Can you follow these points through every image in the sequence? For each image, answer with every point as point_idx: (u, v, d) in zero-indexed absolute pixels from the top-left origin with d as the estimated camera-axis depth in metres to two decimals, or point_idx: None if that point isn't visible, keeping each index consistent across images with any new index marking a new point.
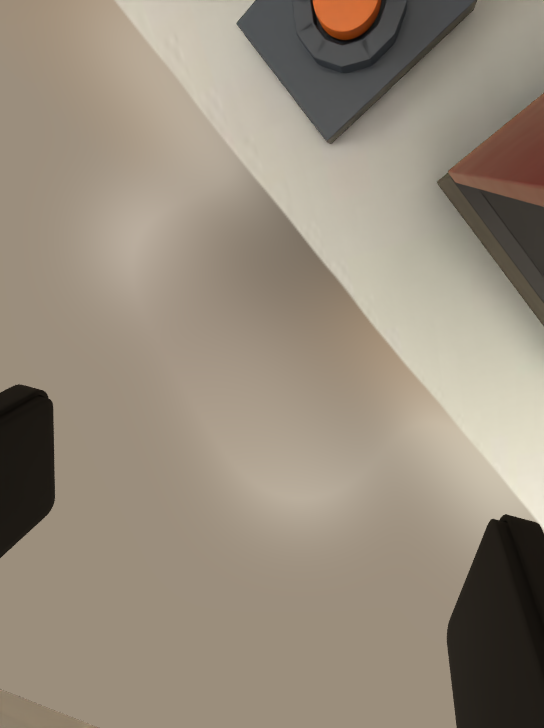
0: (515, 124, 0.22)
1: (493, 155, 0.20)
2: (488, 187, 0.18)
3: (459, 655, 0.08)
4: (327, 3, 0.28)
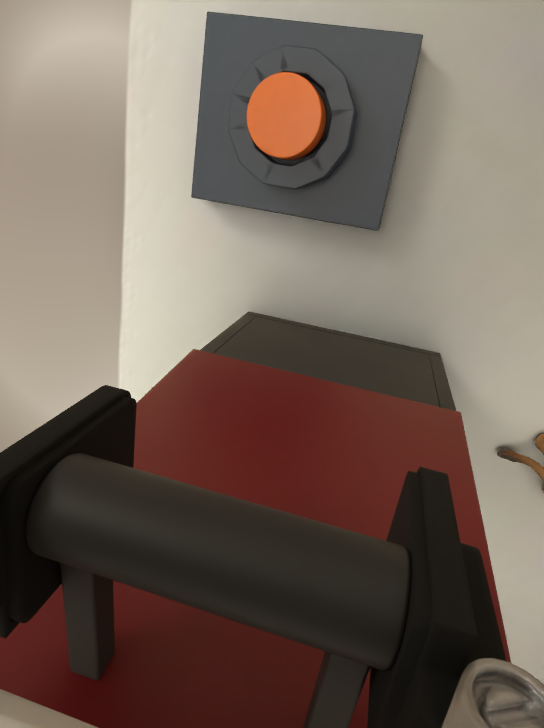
0: (233, 385, 0.22)
1: (159, 410, 0.19)
2: None
3: None
4: (263, 106, 0.25)
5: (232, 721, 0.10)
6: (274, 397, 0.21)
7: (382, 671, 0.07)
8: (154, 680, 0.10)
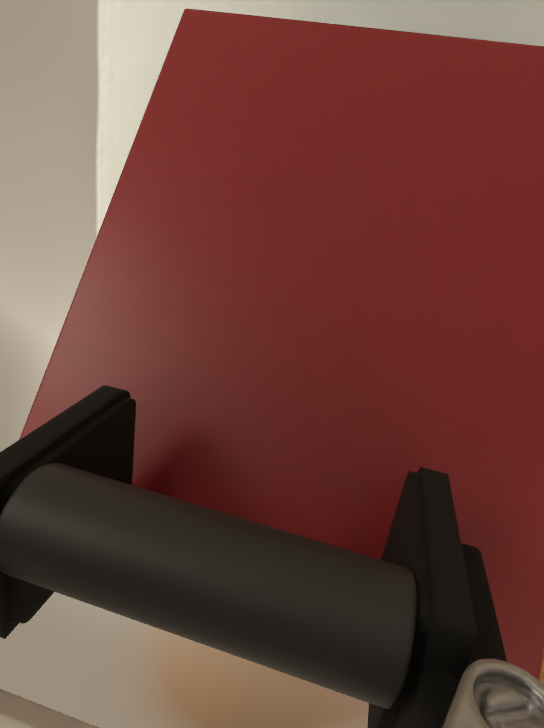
0: (250, 84, 0.15)
1: (157, 167, 0.14)
2: None
3: None
4: None
5: None
6: (312, 97, 0.14)
7: None
8: None
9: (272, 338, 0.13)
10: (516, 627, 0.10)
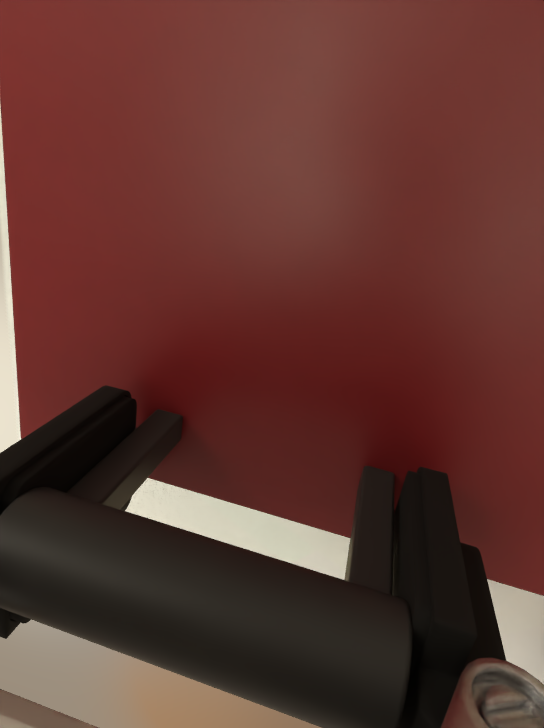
0: None
1: None
2: None
3: None
4: None
5: (298, 464, 0.11)
6: None
7: None
8: (225, 436, 0.11)
9: (266, 222, 0.09)
10: None
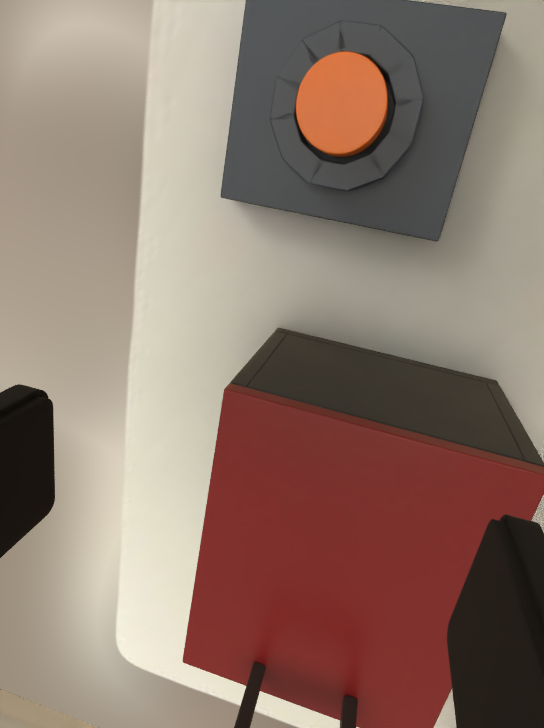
0: (281, 460, 0.21)
1: (228, 509, 0.23)
2: None
3: (459, 655, 0.08)
4: (317, 91, 0.21)
5: (316, 690, 0.25)
6: (325, 477, 0.21)
7: None
8: (284, 675, 0.25)
9: (307, 610, 0.24)
10: (419, 727, 0.24)
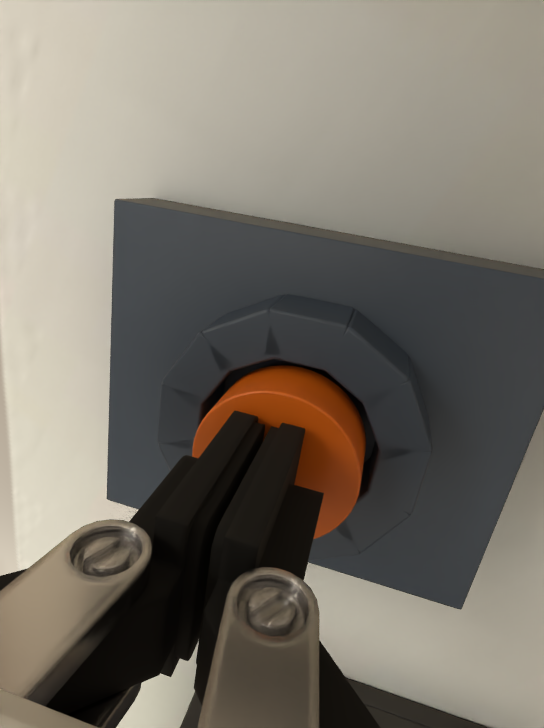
0: None
1: None
2: None
3: None
4: None
5: None
6: None
7: None
8: None
9: None
10: None
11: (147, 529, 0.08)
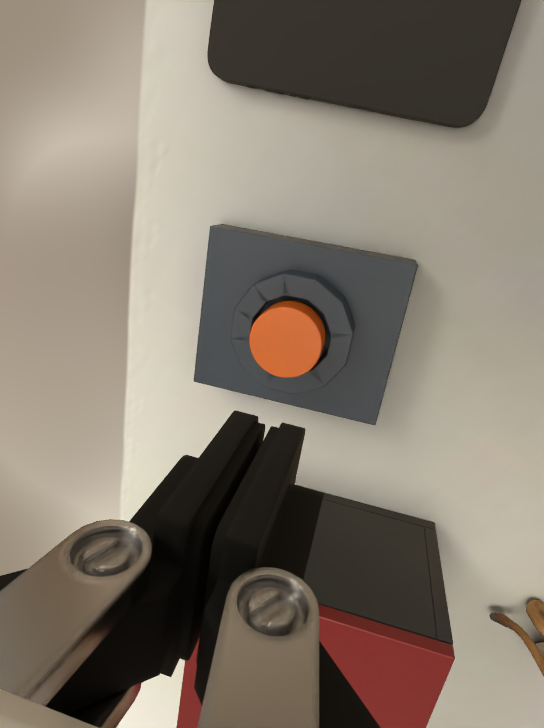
0: None
1: None
2: None
3: None
4: (265, 333, 0.26)
5: None
6: None
7: None
8: None
9: None
10: None
11: (147, 529, 0.08)
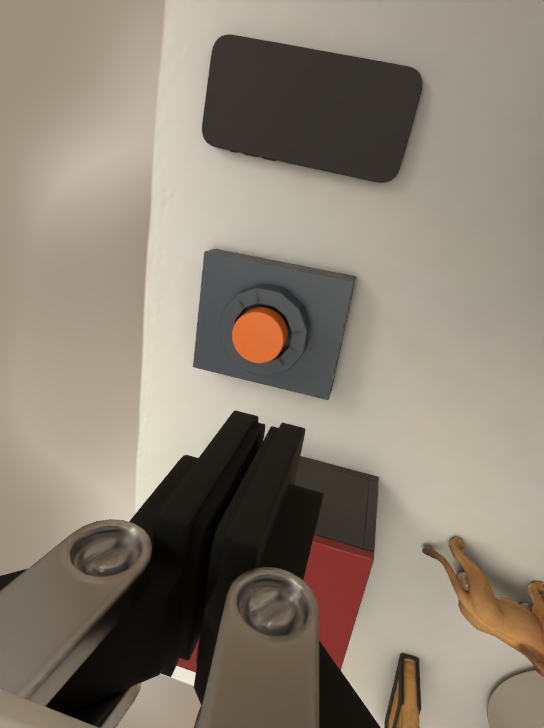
0: None
1: None
2: None
3: None
4: (243, 331, 0.36)
5: None
6: None
7: None
8: None
9: None
10: None
11: (147, 529, 0.08)
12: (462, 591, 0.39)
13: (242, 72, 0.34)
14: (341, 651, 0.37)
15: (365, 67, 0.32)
